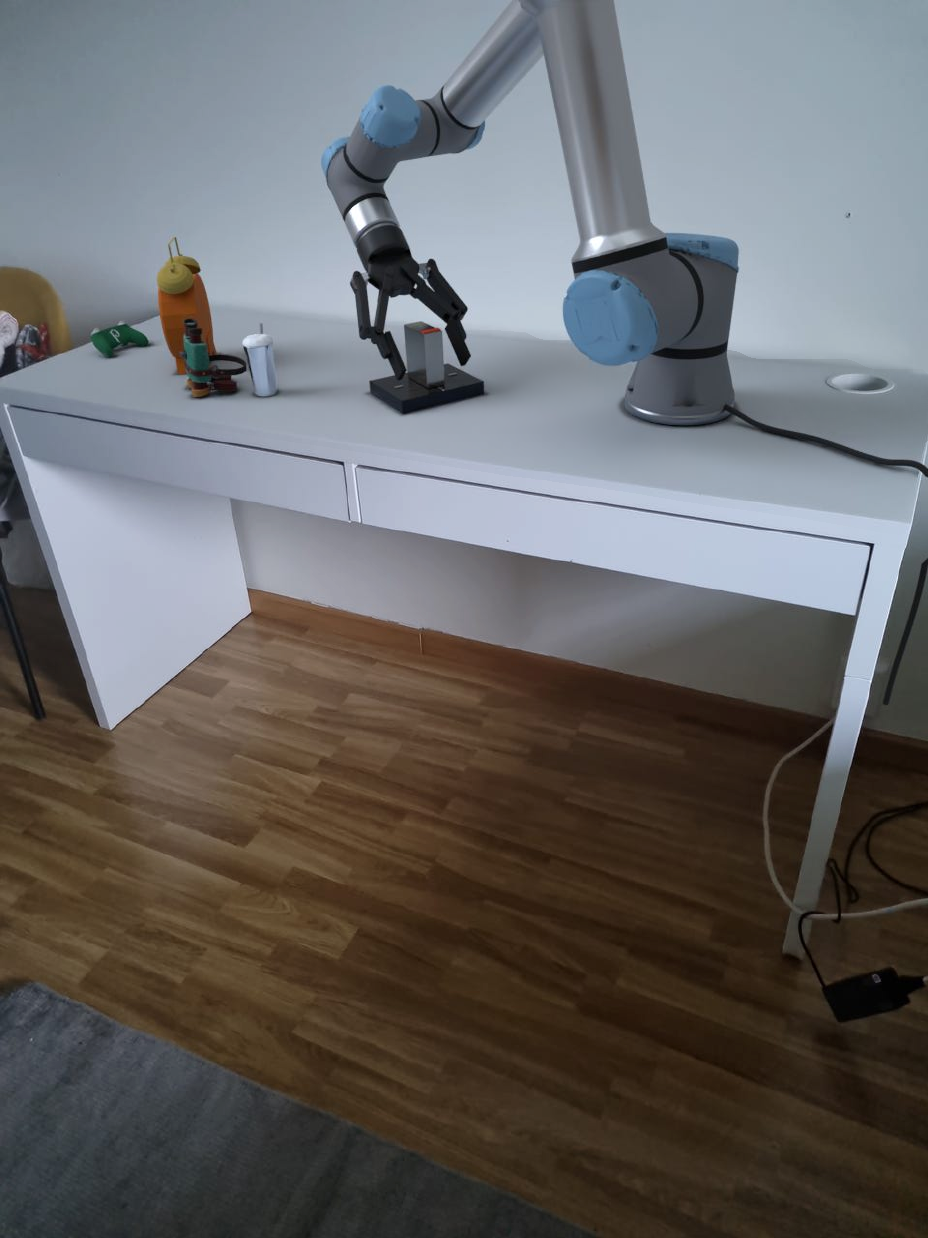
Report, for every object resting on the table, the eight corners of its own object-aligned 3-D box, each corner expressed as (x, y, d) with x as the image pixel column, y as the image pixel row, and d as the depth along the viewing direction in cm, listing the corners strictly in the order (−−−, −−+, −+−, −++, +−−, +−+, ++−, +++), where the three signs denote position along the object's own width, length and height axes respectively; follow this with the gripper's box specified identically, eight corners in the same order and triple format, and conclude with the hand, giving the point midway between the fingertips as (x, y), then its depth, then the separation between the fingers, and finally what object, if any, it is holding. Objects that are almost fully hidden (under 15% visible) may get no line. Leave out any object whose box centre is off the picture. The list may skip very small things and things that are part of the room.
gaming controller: (145, 352, 166) (125, 327, 166) (151, 340, 164) (130, 313, 163) (103, 366, 160) (83, 340, 160) (108, 353, 157) (87, 326, 157)
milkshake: (285, 386, 142) (275, 322, 137) (276, 398, 138) (265, 332, 132) (257, 386, 143) (246, 322, 137) (247, 398, 138) (236, 333, 133)
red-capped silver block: (407, 376, 137) (403, 322, 133) (424, 373, 139) (421, 319, 134) (427, 388, 133) (423, 332, 128) (445, 384, 134) (442, 329, 129)
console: (448, 375, 144) (448, 361, 142) (484, 394, 135) (484, 380, 134) (370, 393, 138) (369, 379, 137) (402, 414, 130) (401, 399, 129)
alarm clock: (184, 353, 159) (158, 233, 148) (219, 350, 159) (196, 231, 148) (172, 377, 148) (143, 250, 137) (209, 374, 148) (184, 247, 137)
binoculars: (247, 327, 136) (180, 330, 132) (252, 396, 141) (187, 400, 138) (236, 314, 143) (171, 316, 139) (241, 379, 148) (179, 383, 144)
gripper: (436, 244, 143) (490, 366, 140) (304, 265, 133) (359, 396, 131) (451, 212, 136) (508, 340, 133) (313, 232, 127) (371, 370, 124)
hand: (434, 368), depth 132 cm, fingers open, 10 cm apart
